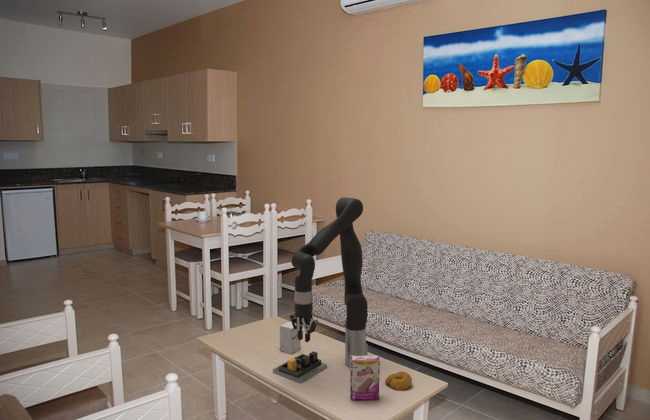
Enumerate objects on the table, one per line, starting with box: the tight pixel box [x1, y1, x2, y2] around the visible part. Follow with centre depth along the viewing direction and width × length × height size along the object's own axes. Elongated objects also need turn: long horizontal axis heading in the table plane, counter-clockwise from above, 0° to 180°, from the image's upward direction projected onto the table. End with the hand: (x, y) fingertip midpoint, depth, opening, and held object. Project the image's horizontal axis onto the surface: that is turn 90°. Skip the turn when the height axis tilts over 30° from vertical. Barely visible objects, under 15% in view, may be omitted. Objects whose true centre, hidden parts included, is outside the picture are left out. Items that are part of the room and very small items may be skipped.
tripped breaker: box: [287, 357, 297, 371], centre depth 212 cm, size 2×3×5 cm
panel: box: [272, 351, 328, 384], centre depth 216 cm, size 16×18×7 cm
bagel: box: [384, 371, 413, 391], centre depth 203 cm, size 10×11×5 cm
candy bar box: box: [349, 355, 381, 401], centre depth 192 cm, size 11×5×16 cm, turn 92°
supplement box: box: [279, 321, 302, 355], centre depth 237 cm, size 7×7×13 cm
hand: (303, 340), depth 206 cm, fingers open, 3 cm apart
